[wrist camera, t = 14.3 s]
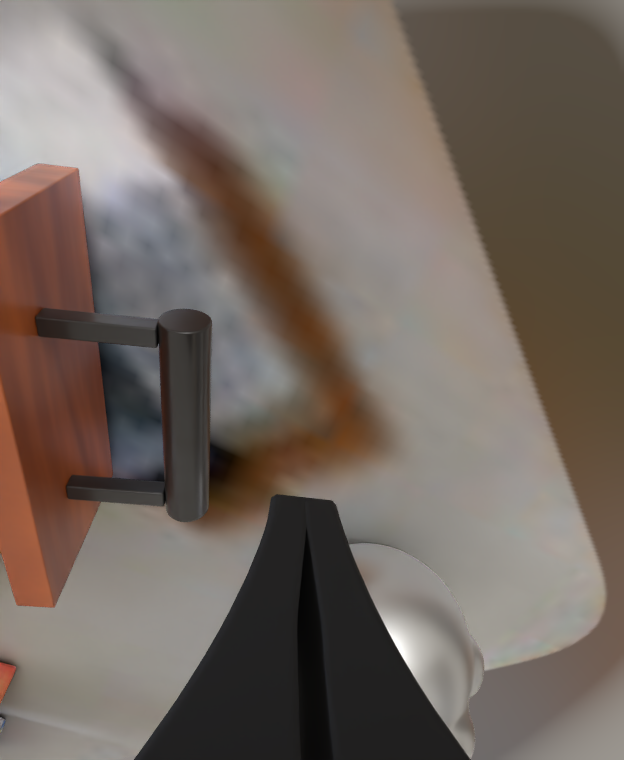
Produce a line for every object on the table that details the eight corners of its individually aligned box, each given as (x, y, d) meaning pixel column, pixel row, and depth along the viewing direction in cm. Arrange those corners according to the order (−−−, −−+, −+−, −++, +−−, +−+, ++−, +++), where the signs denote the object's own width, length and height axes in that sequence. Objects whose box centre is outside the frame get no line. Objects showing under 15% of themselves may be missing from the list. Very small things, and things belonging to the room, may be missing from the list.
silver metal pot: (310, 636, 30) (312, 868, 22) (242, 529, 25) (211, 773, 17) (469, 602, 29) (536, 838, 20) (429, 480, 24) (495, 724, 15)
